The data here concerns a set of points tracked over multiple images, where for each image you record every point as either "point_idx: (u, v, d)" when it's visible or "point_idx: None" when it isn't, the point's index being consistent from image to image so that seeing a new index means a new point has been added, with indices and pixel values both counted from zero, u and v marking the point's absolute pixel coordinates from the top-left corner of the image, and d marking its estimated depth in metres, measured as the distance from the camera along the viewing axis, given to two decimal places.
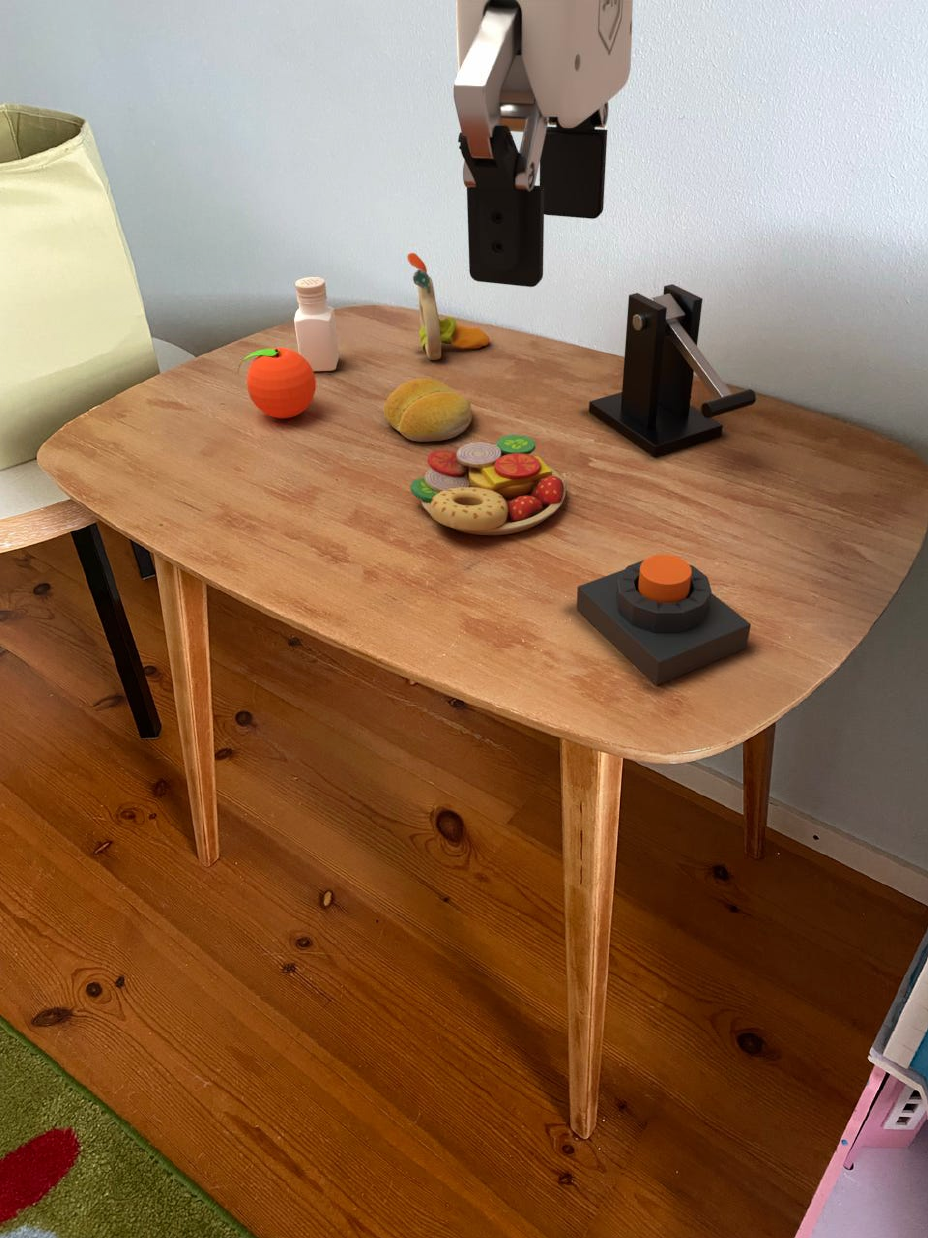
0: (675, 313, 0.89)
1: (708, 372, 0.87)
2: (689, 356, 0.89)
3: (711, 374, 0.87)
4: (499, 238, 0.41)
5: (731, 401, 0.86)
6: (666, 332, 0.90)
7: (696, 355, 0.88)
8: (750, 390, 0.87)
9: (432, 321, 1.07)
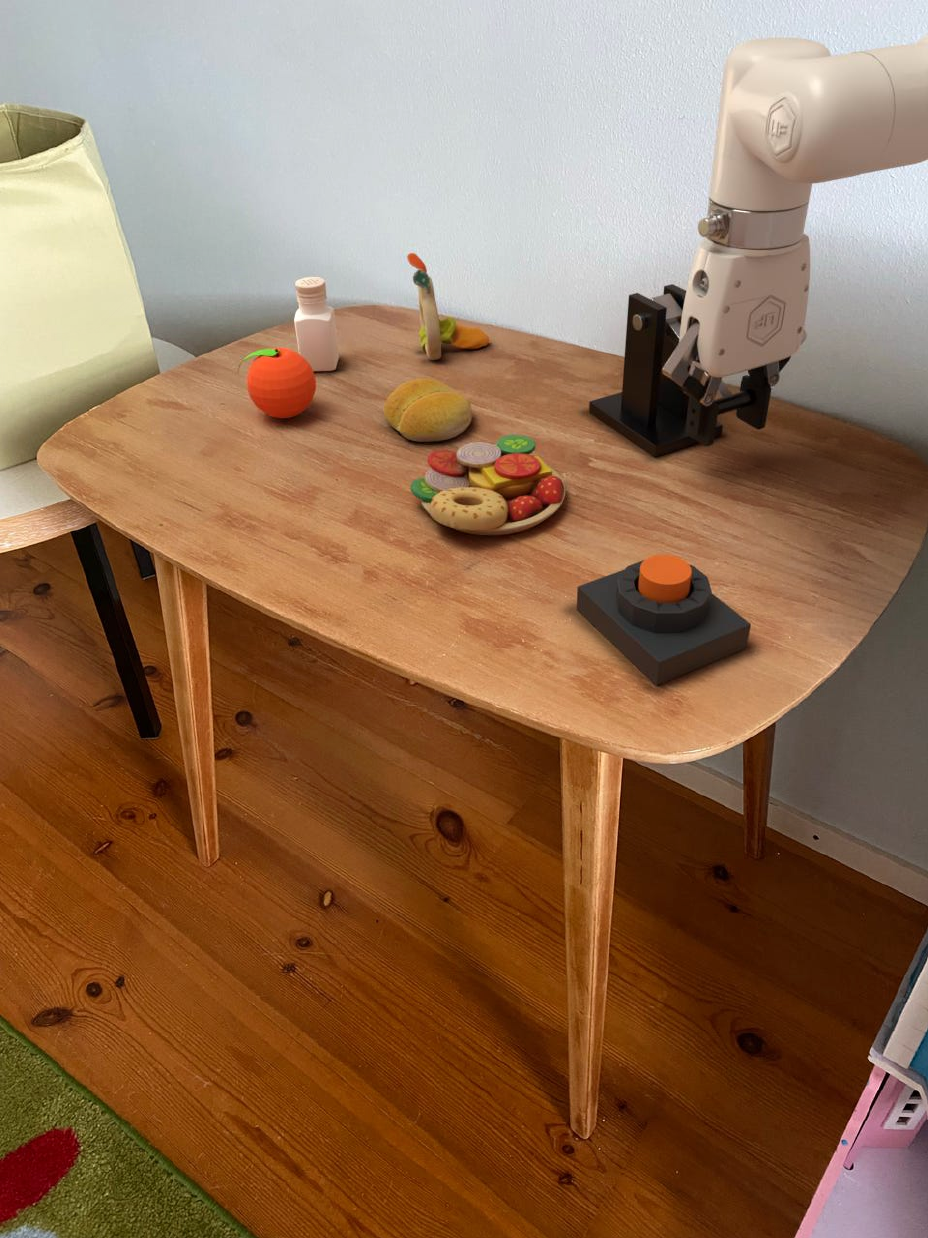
0: (675, 313, 0.89)
1: None
2: None
3: None
4: (693, 421, 0.86)
5: (731, 401, 0.86)
6: (666, 332, 0.90)
7: None
8: (750, 390, 0.87)
9: (432, 321, 1.07)
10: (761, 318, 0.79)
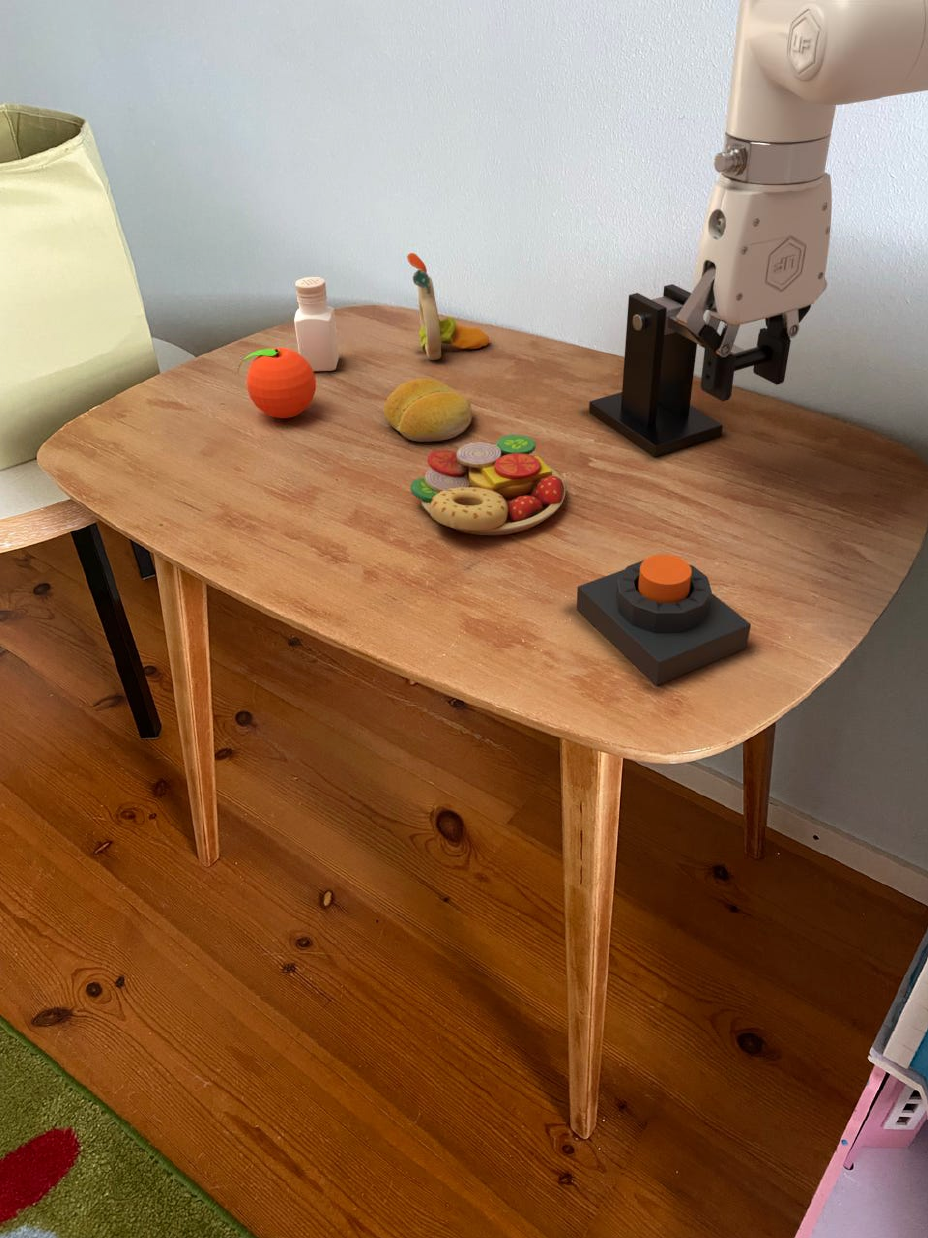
0: (673, 306, 0.89)
1: None
2: None
3: None
4: (709, 374, 0.82)
5: (745, 354, 0.82)
6: (669, 327, 0.90)
7: None
8: (764, 345, 0.84)
9: (432, 321, 1.07)
10: (780, 261, 0.75)
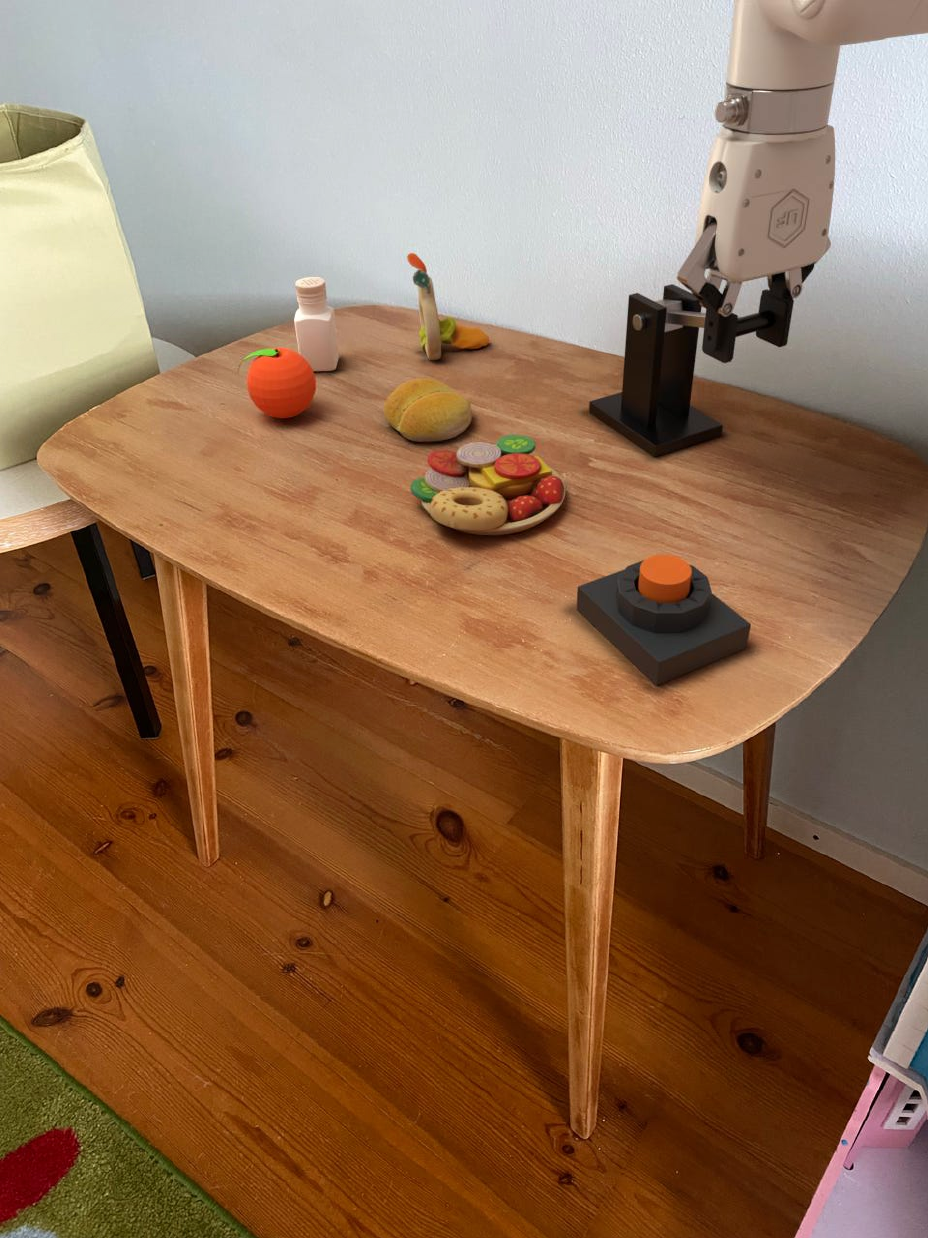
0: (671, 302, 0.89)
1: None
2: (695, 320, 0.86)
3: None
4: (710, 335, 0.80)
5: (746, 317, 0.81)
6: (670, 322, 0.89)
7: (701, 314, 0.86)
8: None
9: (432, 321, 1.07)
10: (783, 216, 0.74)
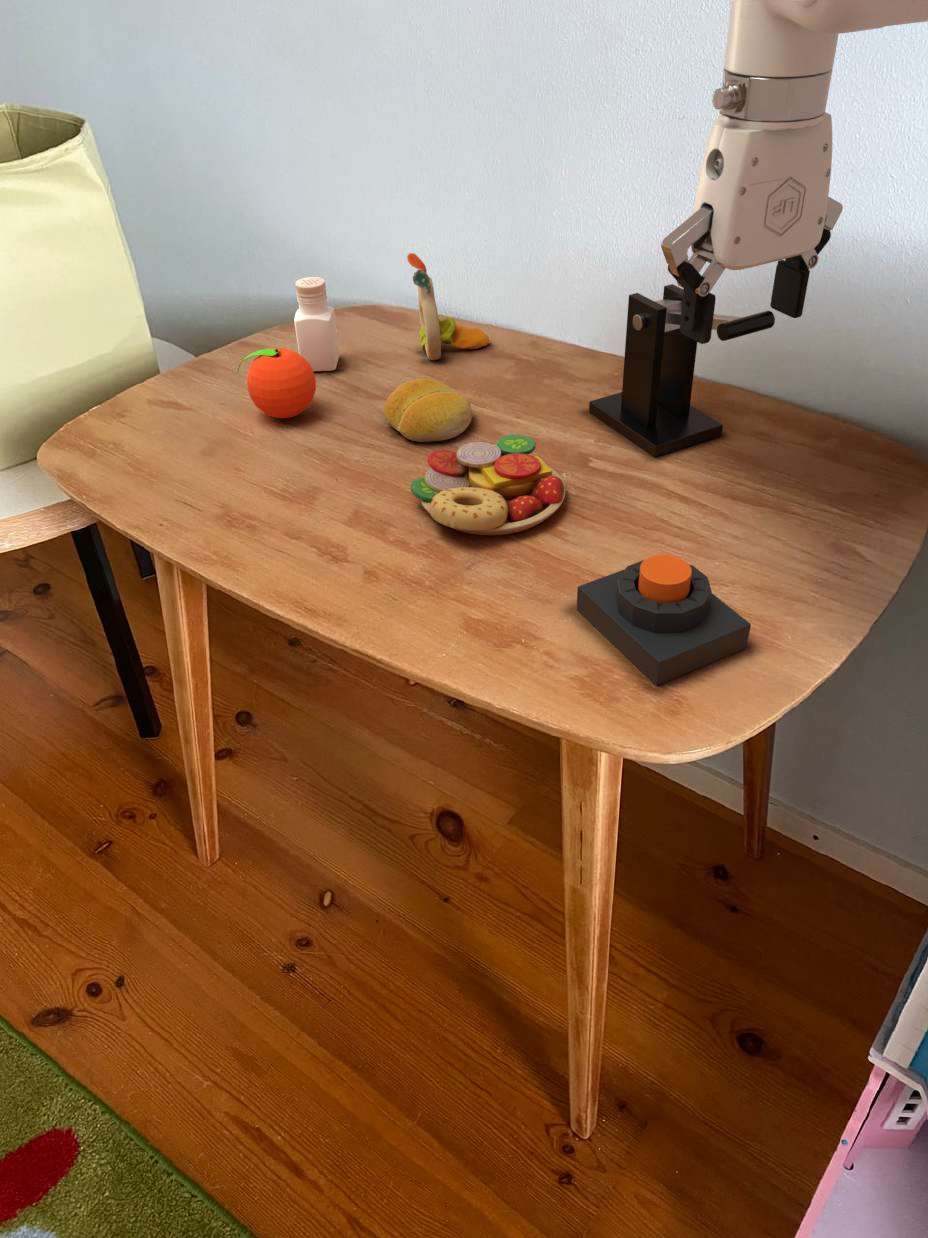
0: (671, 302, 0.89)
1: (716, 316, 0.84)
2: None
3: (720, 316, 0.84)
4: (688, 315, 0.79)
5: (746, 318, 0.81)
6: (670, 322, 0.89)
7: None
8: (765, 311, 0.82)
9: (432, 321, 1.07)
10: (779, 204, 0.74)
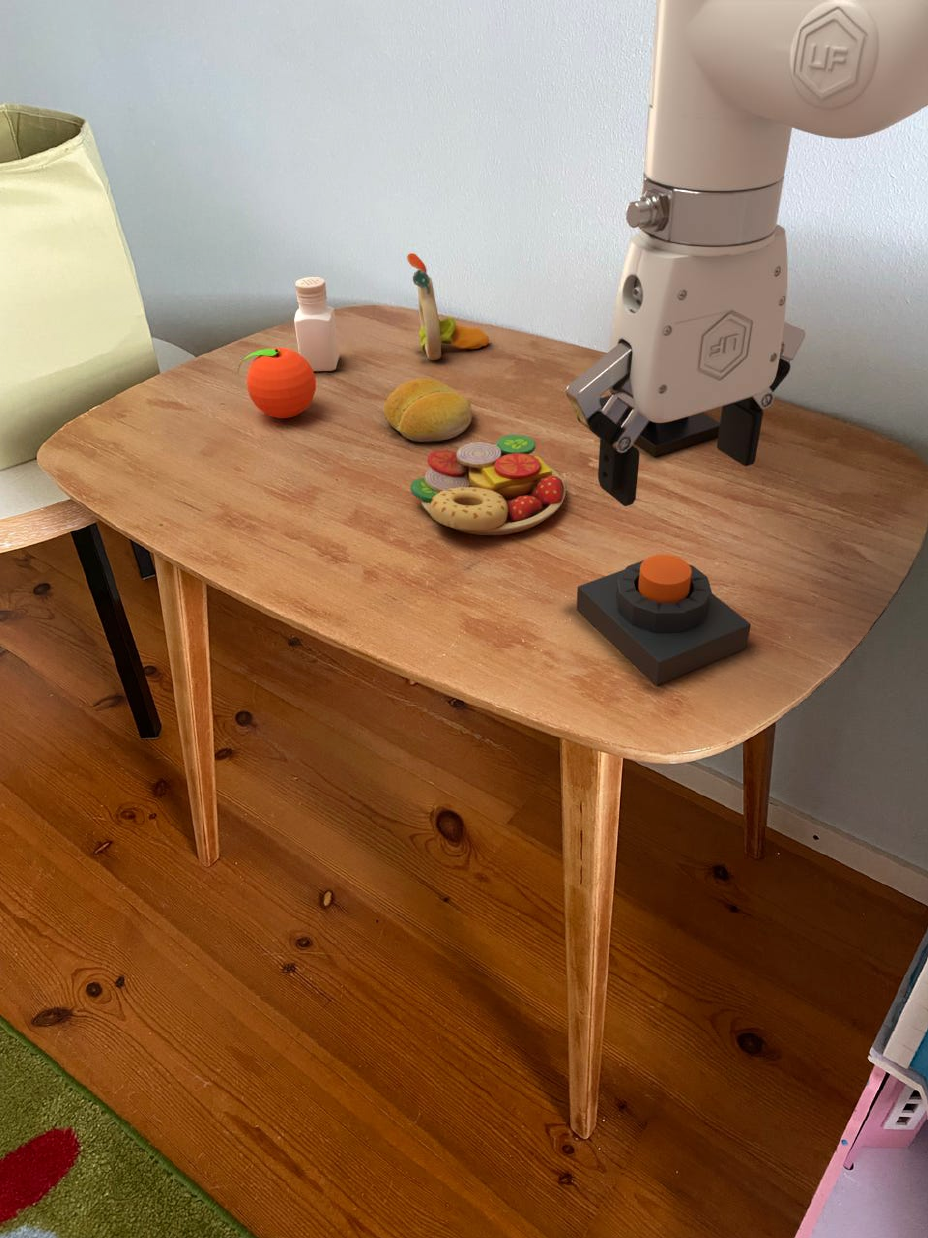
0: None
1: None
2: None
3: None
4: (606, 471, 0.62)
5: None
6: None
7: None
8: None
9: (432, 321, 1.07)
10: (718, 342, 0.57)
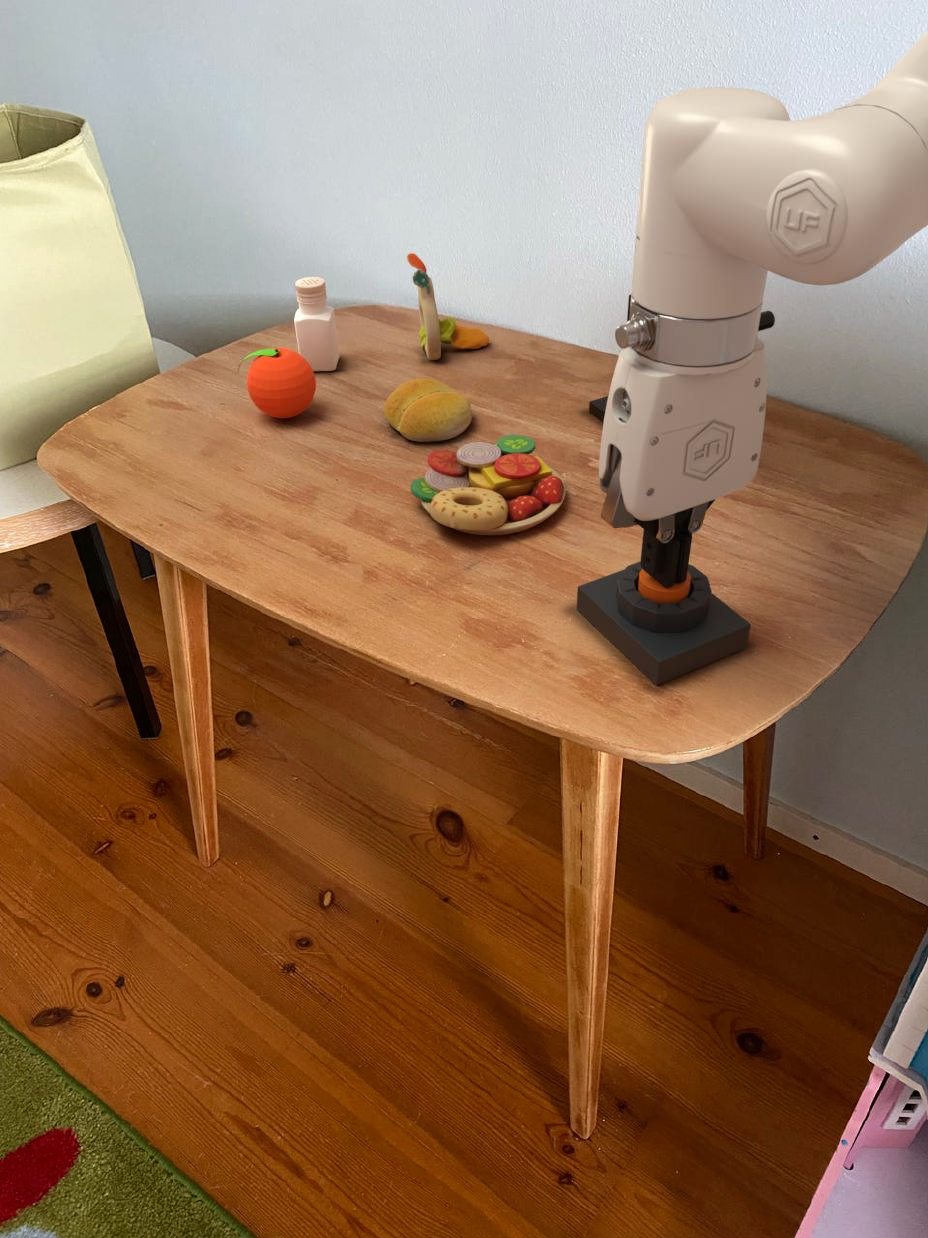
0: None
1: None
2: None
3: None
4: (649, 557, 0.68)
5: None
6: None
7: None
8: (765, 311, 0.82)
9: (432, 321, 1.07)
10: (702, 448, 0.61)
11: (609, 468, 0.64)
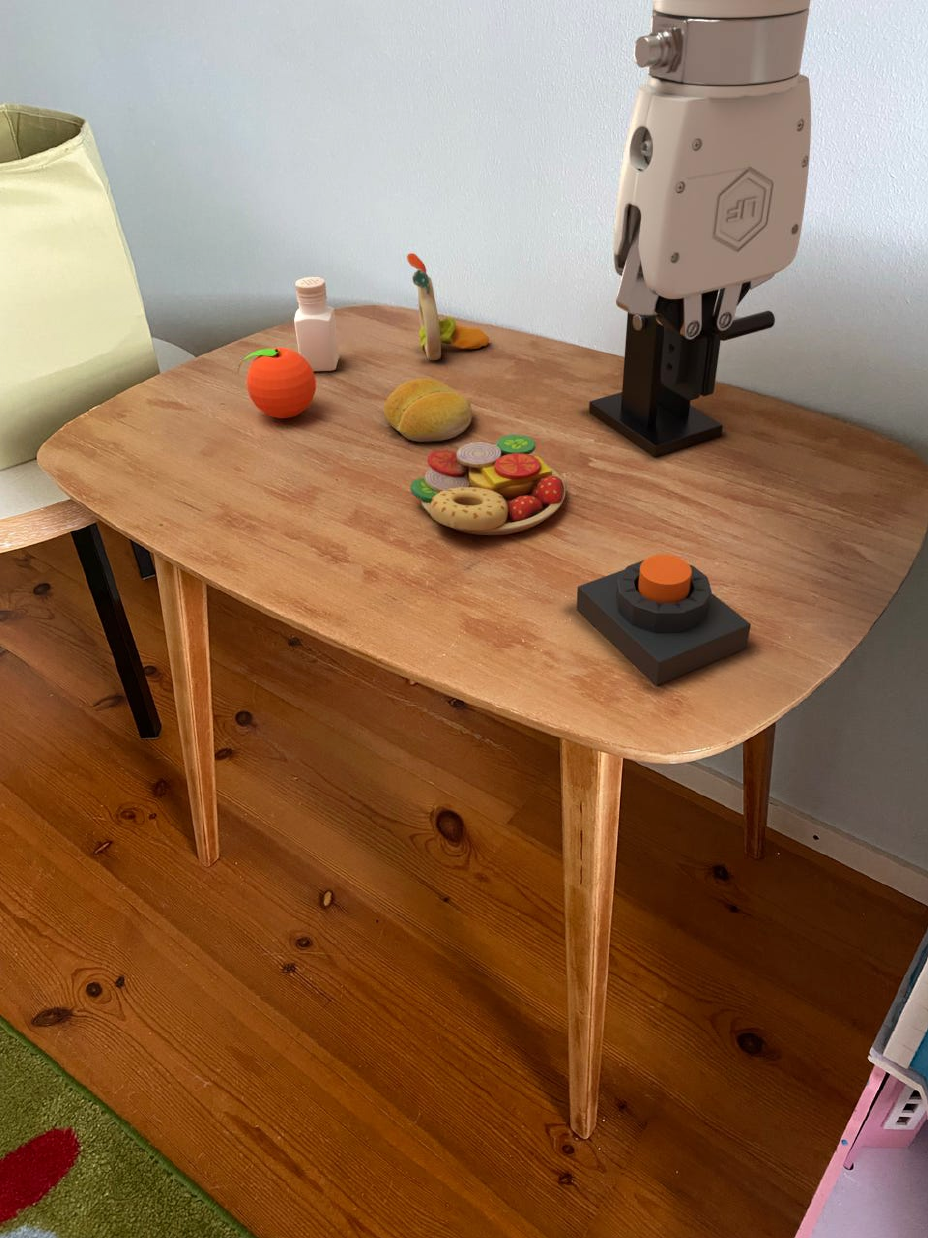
0: None
1: None
2: None
3: None
4: (671, 362, 0.59)
5: (746, 318, 0.81)
6: None
7: None
8: (765, 311, 0.82)
9: (432, 321, 1.07)
10: (735, 205, 0.52)
11: (626, 245, 0.55)
